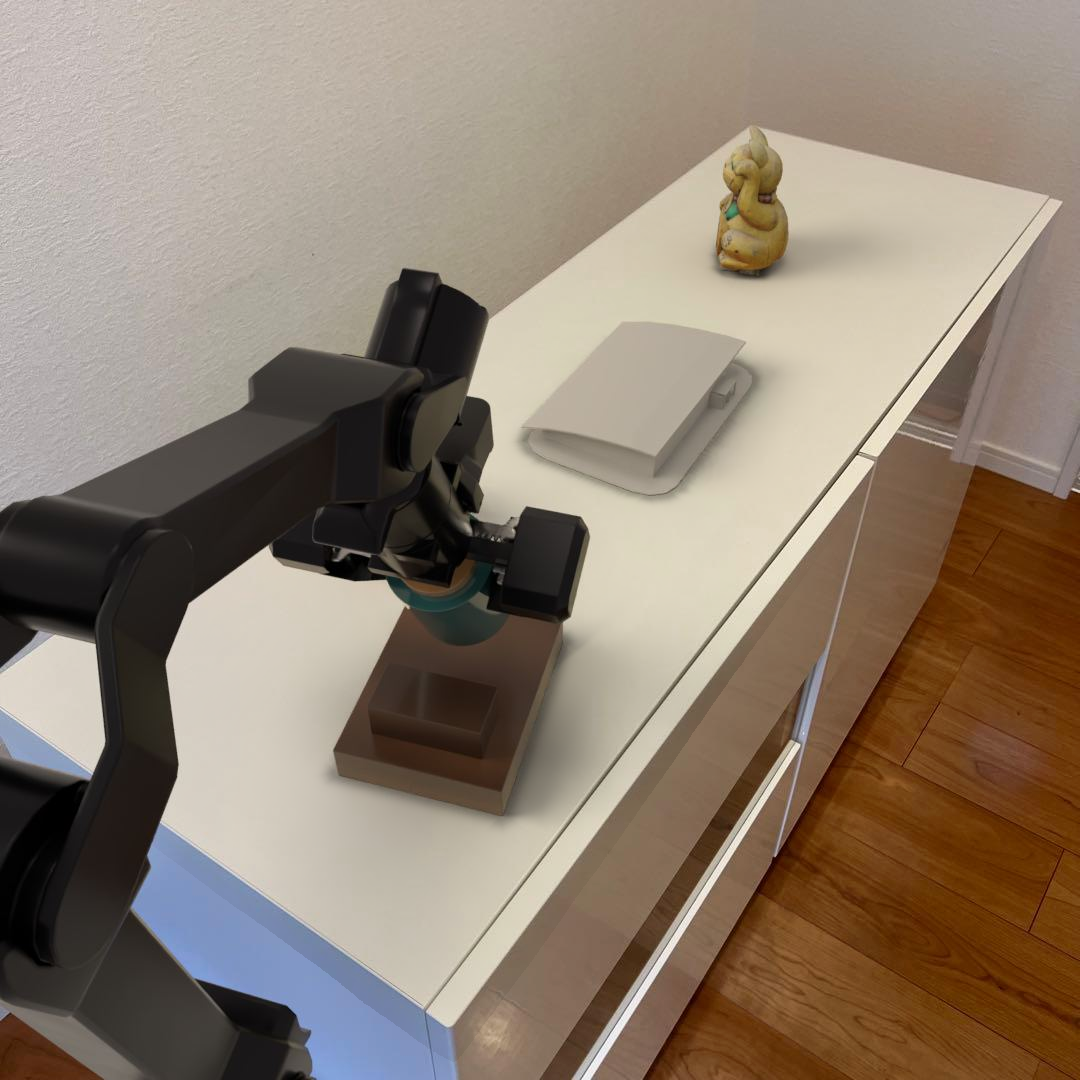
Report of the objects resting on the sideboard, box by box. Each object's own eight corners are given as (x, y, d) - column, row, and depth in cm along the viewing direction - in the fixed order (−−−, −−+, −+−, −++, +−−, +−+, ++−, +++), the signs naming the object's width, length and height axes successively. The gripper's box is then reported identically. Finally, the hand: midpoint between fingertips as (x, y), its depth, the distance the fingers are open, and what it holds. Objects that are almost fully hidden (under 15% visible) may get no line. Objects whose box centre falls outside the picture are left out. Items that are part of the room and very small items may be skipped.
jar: (470, 707, 68) (481, 550, 63) (367, 683, 70) (370, 527, 65) (519, 620, 78) (531, 478, 73) (428, 601, 80) (434, 460, 74)
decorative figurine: (711, 238, 129) (727, 114, 119) (780, 242, 129) (802, 118, 118) (712, 280, 122) (729, 153, 112) (786, 284, 122) (809, 156, 111)
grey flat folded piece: (761, 372, 110) (766, 339, 107) (663, 503, 95) (667, 469, 93) (626, 329, 115) (628, 297, 112) (515, 447, 101) (514, 414, 98)
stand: (502, 816, 73) (500, 765, 69) (337, 775, 75) (326, 723, 71) (562, 642, 84) (564, 589, 80) (417, 610, 86) (411, 557, 82)
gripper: (601, 392, 58) (617, 497, 73) (285, 339, 62) (360, 449, 76) (552, 586, 55) (579, 654, 70) (221, 518, 59) (313, 597, 73)
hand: (455, 581), depth 72 cm, fingers closed on jar, 7 cm apart
